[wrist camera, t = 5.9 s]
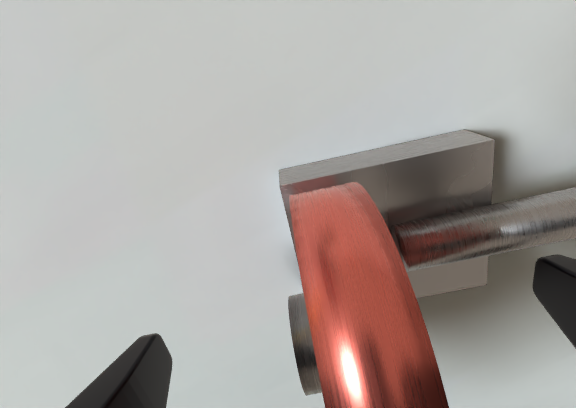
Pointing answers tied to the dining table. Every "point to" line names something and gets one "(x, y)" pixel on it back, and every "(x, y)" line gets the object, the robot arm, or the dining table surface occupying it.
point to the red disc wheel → (397, 259)
